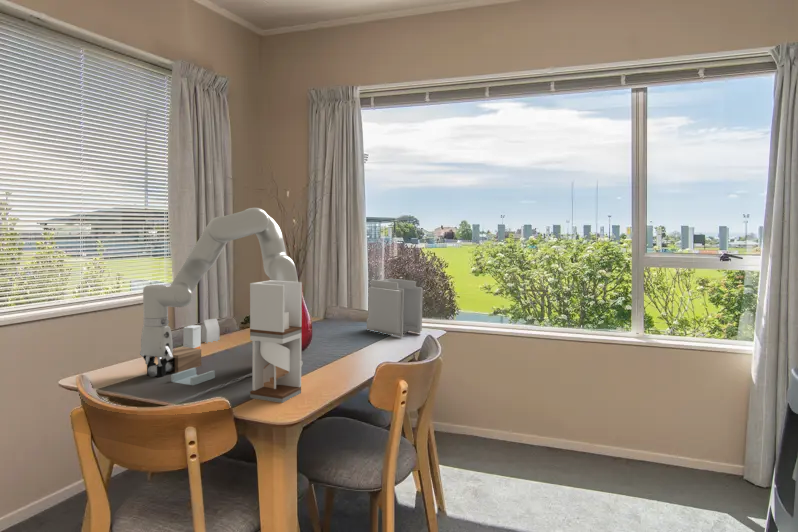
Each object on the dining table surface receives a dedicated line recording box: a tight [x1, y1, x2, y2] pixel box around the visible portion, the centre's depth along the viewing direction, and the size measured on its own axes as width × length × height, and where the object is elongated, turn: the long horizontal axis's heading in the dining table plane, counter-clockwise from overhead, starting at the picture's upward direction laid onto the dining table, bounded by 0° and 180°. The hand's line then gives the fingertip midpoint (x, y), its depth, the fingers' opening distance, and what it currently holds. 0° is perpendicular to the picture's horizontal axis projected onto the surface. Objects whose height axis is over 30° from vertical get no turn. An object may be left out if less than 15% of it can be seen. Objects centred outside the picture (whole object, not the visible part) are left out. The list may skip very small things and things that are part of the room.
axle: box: [148, 359, 175, 378], centre depth 192 cm, size 17×4×4 cm, turn 158°
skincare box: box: [182, 324, 202, 350], centre depth 219 cm, size 6×4×12 cm
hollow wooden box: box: [161, 346, 202, 374], centre depth 196 cm, size 8×11×8 cm
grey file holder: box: [366, 277, 424, 337], centre depth 274 cm, size 17×27×26 cm, turn 44°
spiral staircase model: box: [249, 279, 303, 404], centre depth 170 cm, size 11×11×35 cm
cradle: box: [170, 367, 216, 386], centre depth 181 cm, size 9×10×4 cm
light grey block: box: [201, 318, 221, 344], centre depth 247 cm, size 4×7×10 cm, turn 146°
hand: (156, 375), depth 186 cm, fingers closed on axle, 3 cm apart
